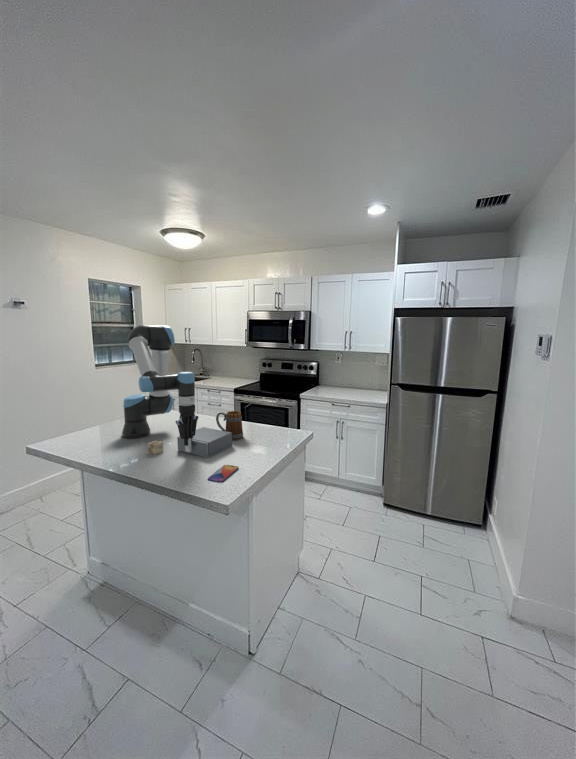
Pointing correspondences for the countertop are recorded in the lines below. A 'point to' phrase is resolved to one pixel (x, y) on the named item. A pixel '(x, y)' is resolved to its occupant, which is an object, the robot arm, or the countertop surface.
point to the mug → (232, 423)
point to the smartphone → (223, 473)
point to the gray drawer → (194, 447)
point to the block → (155, 447)
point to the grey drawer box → (214, 439)
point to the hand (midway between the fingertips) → (188, 451)
